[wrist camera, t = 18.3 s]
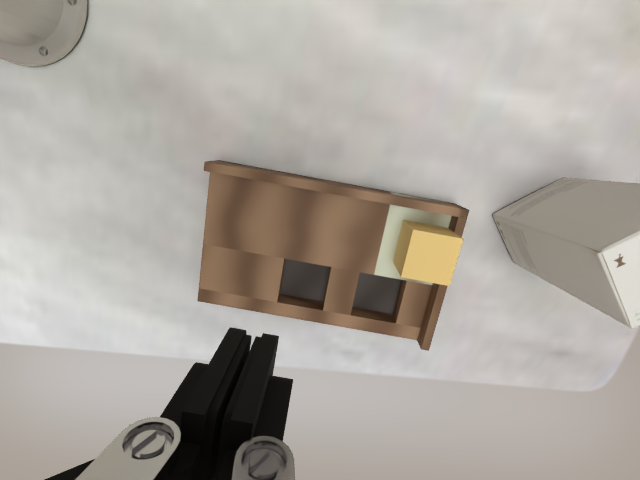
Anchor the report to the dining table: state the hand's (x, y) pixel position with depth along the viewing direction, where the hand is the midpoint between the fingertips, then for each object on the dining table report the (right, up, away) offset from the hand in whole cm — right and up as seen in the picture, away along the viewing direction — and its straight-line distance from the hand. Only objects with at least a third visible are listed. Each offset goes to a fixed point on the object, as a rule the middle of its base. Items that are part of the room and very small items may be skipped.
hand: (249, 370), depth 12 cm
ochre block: (+13, +4, +24) cm, 27 cm away
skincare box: (+25, +7, +26) cm, 37 cm away
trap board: (+3, +3, +27) cm, 27 cm away
